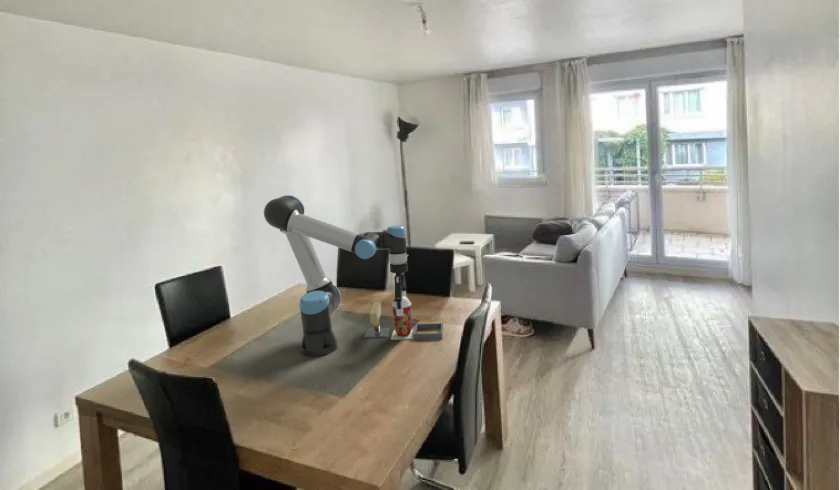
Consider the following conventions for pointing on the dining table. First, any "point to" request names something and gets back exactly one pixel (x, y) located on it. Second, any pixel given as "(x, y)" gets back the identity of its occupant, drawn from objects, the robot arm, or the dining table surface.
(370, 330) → the lock plate
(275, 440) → the dining table surface
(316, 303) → the robot arm
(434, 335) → the socket
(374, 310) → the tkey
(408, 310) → the smoothie
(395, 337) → the mat
